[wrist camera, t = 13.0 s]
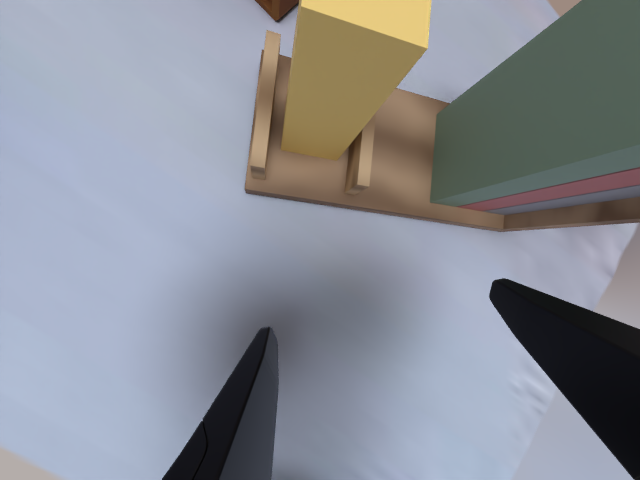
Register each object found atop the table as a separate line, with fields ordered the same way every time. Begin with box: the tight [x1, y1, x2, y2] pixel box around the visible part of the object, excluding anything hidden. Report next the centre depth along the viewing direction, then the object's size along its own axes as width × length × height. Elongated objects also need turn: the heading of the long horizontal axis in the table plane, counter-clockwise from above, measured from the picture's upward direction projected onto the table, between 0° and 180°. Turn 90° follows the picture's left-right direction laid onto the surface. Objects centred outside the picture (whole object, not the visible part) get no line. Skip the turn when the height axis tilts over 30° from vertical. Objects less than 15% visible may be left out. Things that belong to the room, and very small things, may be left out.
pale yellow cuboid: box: [281, 0, 431, 161], centre depth 14 cm, size 4×5×12 cm
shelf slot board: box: [245, 30, 640, 232], centre depth 16 cm, size 12×28×16 cm, turn 84°
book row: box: [430, 0, 640, 215], centre depth 17 cm, size 9×9×14 cm
